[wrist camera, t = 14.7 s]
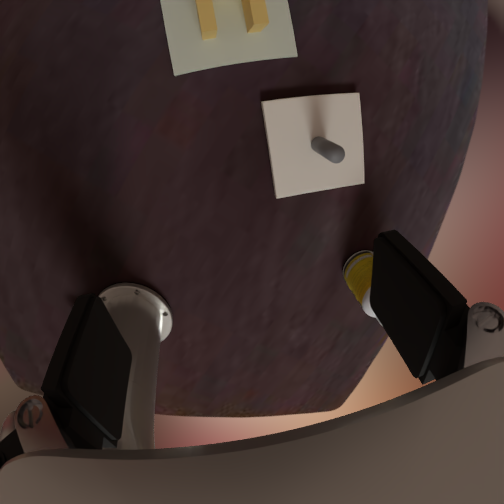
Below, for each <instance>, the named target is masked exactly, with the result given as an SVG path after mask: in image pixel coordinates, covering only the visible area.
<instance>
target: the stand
mask: <svg viewBox="0 0 504 504" xmlns="http://www.w3.org/2000/svg"><path fill="white" fill-rule="evenodd" d="M261 105H262V111H263V118H264V124H265V130H266V137H267V143H268V150H269V157H270V163H271V170H272V177H273V184H274V191H275V196H276V198H283V197H288V196H293V195H299V194H304V193H310V192H316V191H321V190H327V189H333V188H339V187H345V186H351V185H357V184H364V153H363V134H362V120H361V107H360V97H359V93H339V94H324V95H312V96H302V97H292V98H284V99H276V100H268V101H261Z"/></svg>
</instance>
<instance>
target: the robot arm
mask: <svg viewBox="0 0 504 504" xmlns="http://www.w3.org/2000/svg"><path fill="white" fill-rule="evenodd" d="M466 303H467V300H466V299H465V298H464V297H463V295H462V294H461V293H460V292H459V291H458V290H457V289H456V288H455V287H454V286H453V285H452V284H451V283H450V282H449V281H448V280H447V279H446V278H445V277H444V276H443V275H442V274H441V273H440V272H439V271H438V270H437V269H436V268H435V267H434V266H433V265H432V264H431V263H430V262H429V261H428V260H427V259H426V258H425V257H424V256H423V255H422V254H421V253H420V252H419V251H418V250H417V249H416V248H415V247H414V246H413V245H412V244H411V243H409V242H408V241H407V240H406V239H405V238H404V237H403V236H402V235H401V234H400V233H399V232H398V231H396V230H391V231H386V232H382V233H379V235H378V238H376V239H375V240H374V250H373V265H372V278H371V289H370V306H371V308H372V310H373V312H374V313H375V315H376V316H377V318H378V320H379V321H380V323H381V324H382V326H383V327H384V329H385V331H386V332H387V334H388V335H389V337H390V339H391V340H392V342H393V344H394V345H395V347H396V348H397V350H398V352H399V353H400V355H401V357H402V358H403V360H404V362H405V363H406V365H407V366H408V368H409V370H410V372H411V373H412V375H413V376H414V377H415V378H419V380H420V381H421V383H422V384H425V383H427V382H430V381H432V380H434V379H436V381H435V382H433V383H430V384H428V385H426V386H423V387H421V388H418V389H416V390H414V391H411V392H409V393H406V394H404V395H401V396H399V397H396V398H394V399H391V400H388V401H386V402H383V403H380V404H378V405H375V406H372V407H369V408H366V409H363V410H360V411H357V412H354V413H351V414H348V415H345V416H341V417H339V418H335V419H331V420H328V421H325V422H321V423H317V424H313V425H310V426H306V427H302V428H297V429H293V430H289V431H285V432H280V433H275V434H271V435H266V436H260V437H255V438H250V439H244V440H237V441H231V442H224V443H216V444H208V445H200V446H190V447H178V448H164V449H155V445H154V411H155V396H156V383H157V371H158V360H159V349H160V342H161V341H163V340H164V339H165V338H166V337H167V336H168V335H169V333H170V331H171V328H172V322H173V318H172V312H171V309H170V307H169V305H168V304H167V302H166V301H165V300H164V299H163V298H162V296H160V295H159V294H158V293H156V292H155V291H153V290H151V289H150V288H148V287H145V286H142V285H139V284H134V283H118V284H114V285H111V286H109V287H107V288H105V289H104V290H103V291H102V292H101V293H100V294H99V296H98V297H97V296H96V295H95V294H93V293H91V294H86V295H81V296H78V298H77V299H76V302H75V304H74V306H73V308H72V310H71V313H70V315H69V317H68V319H67V322H66V324H65V326H64V329H63V331H62V334H61V336H60V338H59V341H58V343H57V346H56V348H55V351H54V354H53V356H52V359H51V361H50V364H49V367H48V370H47V372H46V375H45V378H44V381H43V384H42V387H41V390H42V391H43V392H44V396H43V398H42V397H41V396H39V395H33V396H29V397H27V398H25V399H24V400H23V401H22V402H21V403H20V404H19V405H18V407H17V409H16V410H15V411H13V412H11V413H10V414H9V415H8V416H7V417H6V419H5V421H4V423H3V425H2V429H1V432H0V504H504V312H503V311H502V310H501V309H500V308H499V307H497V306H496V305H494V304H491V303H486V302H480V303H476V304H474V305H473V306H472V307H471V308H469V307H468V306H467V304H466Z"/></svg>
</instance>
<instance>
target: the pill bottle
mask: <svg viewBox="0 0 504 504" xmlns="http://www.w3.org/2000/svg"><path fill="white" fill-rule="evenodd" d="M372 265H373V252H372V251H368V250H364V251H359V252H357V253H355V254H353V255H352V256H351V257H350V258H349V259H348V260H347V261H346V263H345V265H344V268H343V277H344V280H345V282H346V283H347V285H348V286H349V288H350V289H351V291H352V293H353V294H354V296H355V297H356V299H357V300H358V302H359V303H360V305H361V307H362V308H363V310H364V311H365V313H366V314H367V315H369V316H371V317H376V318H377V316H376V315H375V313H374V312H373V310H372V308H371V306H370V289H371V278H372ZM377 320H378V318H377ZM378 321H379V320H378ZM379 323H380V321H379ZM380 324H381V323H380ZM381 325H382V324H381Z"/></svg>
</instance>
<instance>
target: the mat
mask: <svg viewBox="0 0 504 504" xmlns="http://www.w3.org/2000/svg"><path fill="white" fill-rule="evenodd" d="M160 1H161V7H162V12H163V18H164V24H165V29H166V35H167V40H168V46H169V51H170V56H171V61H172V66H173V72H174V76H177V75H181V74H185V73H190V72H194V71H199V70H204V69H209V68H214V67H219V66H225V65H231V64H237V63H244V62H251V61H259V60H267V59H277V58H288V57H298V56H297V50H296V44H295V38H294V32H293V27H292V21H291V16H290V11H289V6H288V1H287V0H265V3H266V8H267V13H268V19H269V24H268V25H267V26H266V27H265V28H264V29H263V30H262V31H261V32H253V33H247V28H246V23H245V17H244V12H243V7H242V2H241V0H212V2H213V8H214V13H215V18H216V24H217V29H218V30H217V35H216V38H212V39H206V40H202V35H201V30H200V24H199V19H198V13H197V8H196V2H195V0H160Z"/></svg>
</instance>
